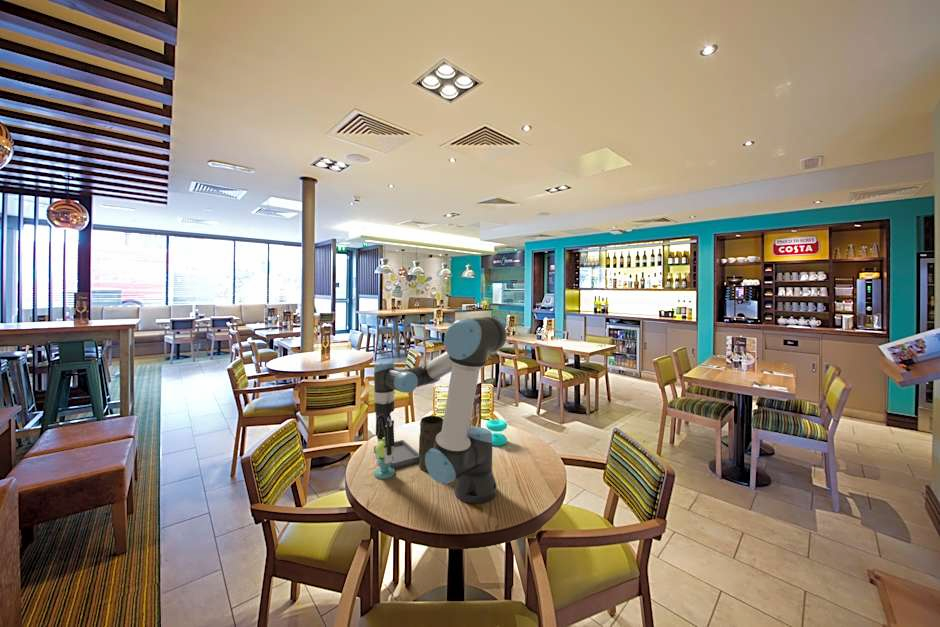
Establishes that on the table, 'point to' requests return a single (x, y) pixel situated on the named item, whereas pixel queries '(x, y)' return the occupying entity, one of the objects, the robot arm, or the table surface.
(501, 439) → the donuts
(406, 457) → the tray
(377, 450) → the ball
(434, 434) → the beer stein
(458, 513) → the table surface
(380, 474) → the goblet
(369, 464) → the table surface
